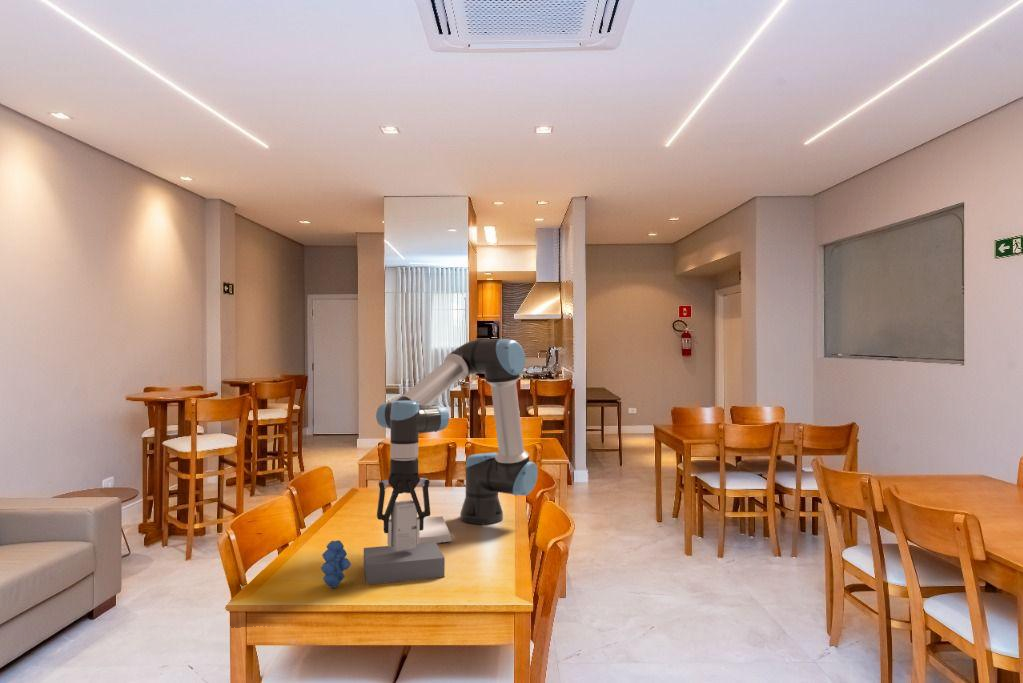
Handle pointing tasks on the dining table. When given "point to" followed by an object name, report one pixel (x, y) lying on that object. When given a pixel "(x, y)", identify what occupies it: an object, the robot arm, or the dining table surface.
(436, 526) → the food packaging
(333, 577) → the grapes
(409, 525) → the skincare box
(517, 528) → the dining table surface
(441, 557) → the block
